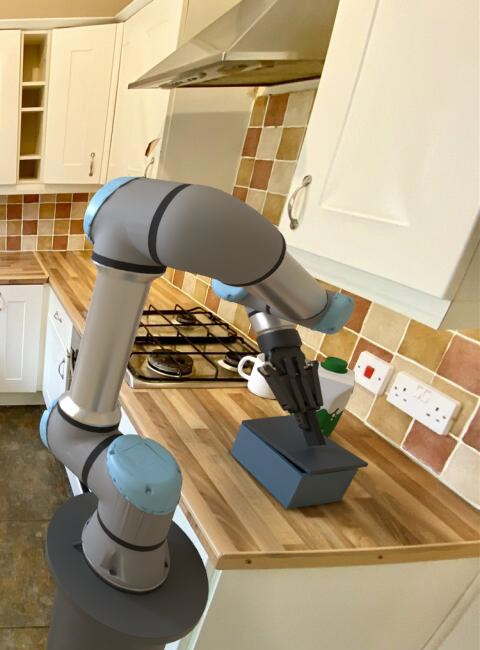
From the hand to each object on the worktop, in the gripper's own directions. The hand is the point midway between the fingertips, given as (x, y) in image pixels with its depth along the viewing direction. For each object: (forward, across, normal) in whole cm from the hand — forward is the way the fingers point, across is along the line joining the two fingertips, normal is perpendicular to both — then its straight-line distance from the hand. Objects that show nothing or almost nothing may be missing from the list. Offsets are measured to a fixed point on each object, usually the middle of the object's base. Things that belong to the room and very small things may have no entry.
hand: (317, 445), depth 81 cm
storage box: (+6, 0, -11) cm, 12 cm away
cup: (-15, -20, -32) cm, 41 cm away
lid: (-1, 0, -4) cm, 4 cm away
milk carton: (-2, -17, -19) cm, 25 cm away
